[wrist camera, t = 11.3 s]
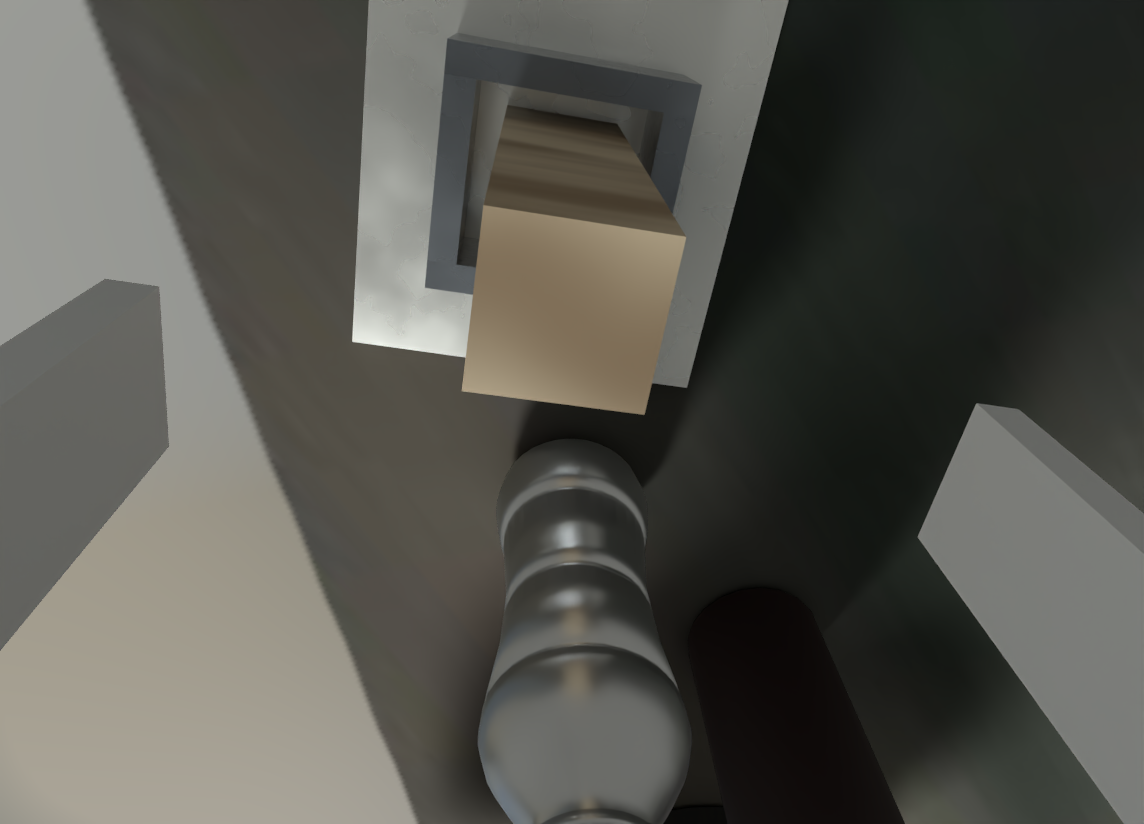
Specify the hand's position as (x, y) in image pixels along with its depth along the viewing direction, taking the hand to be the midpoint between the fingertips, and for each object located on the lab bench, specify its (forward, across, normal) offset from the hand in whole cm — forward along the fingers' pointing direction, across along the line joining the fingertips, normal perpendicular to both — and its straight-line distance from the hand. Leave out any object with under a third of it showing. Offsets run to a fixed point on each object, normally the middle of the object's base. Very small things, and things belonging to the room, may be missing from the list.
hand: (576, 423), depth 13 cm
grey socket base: (+20, 0, -1) cm, 20 cm away
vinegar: (+20, -14, +21) cm, 33 cm away
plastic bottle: (+20, -3, +13) cm, 25 cm away
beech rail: (+19, 0, -1) cm, 19 cm away
